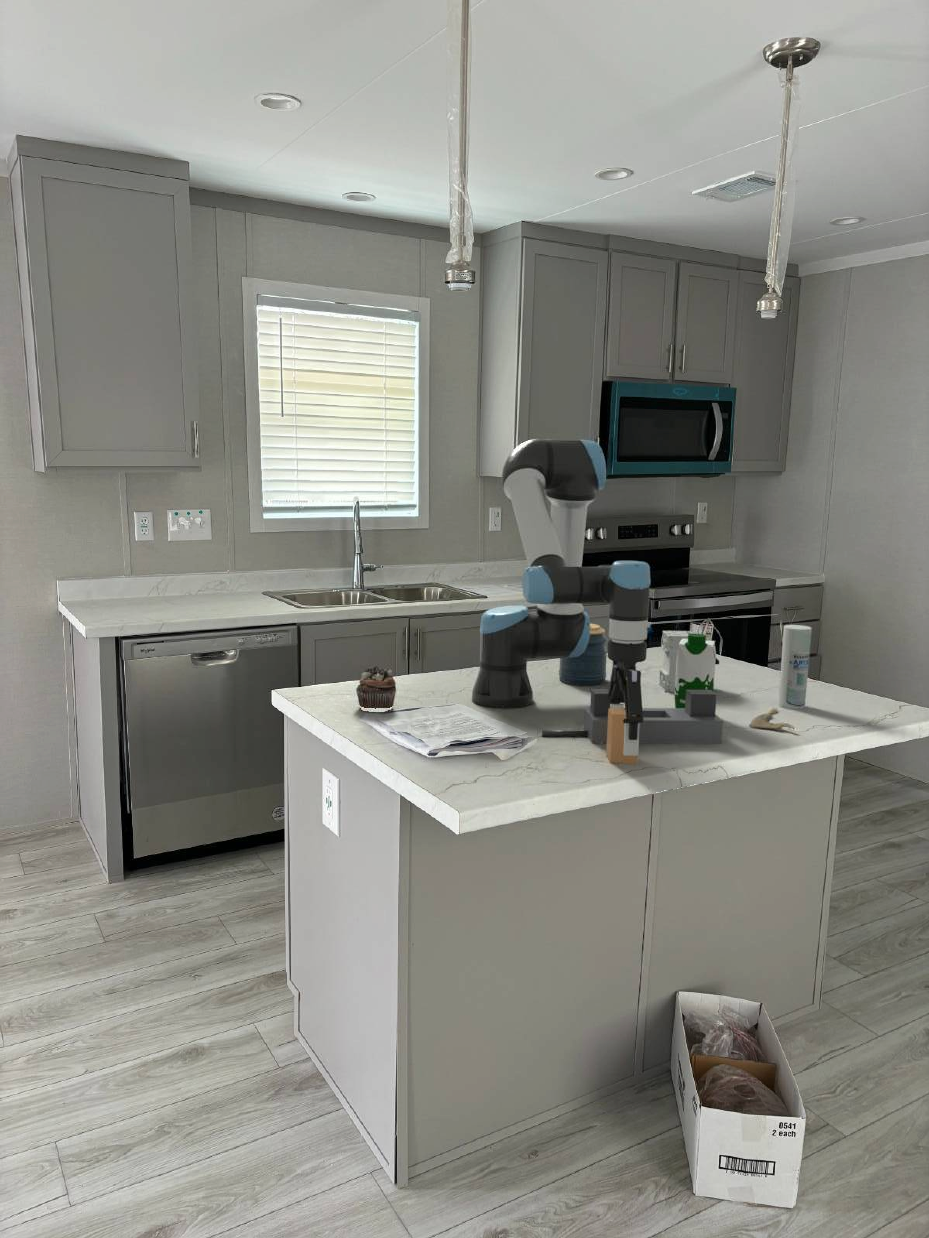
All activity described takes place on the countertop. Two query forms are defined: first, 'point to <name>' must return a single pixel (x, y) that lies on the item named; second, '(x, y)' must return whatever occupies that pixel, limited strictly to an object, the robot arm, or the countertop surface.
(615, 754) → the plug
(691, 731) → the power strip
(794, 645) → the spray can
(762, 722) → the jawbone
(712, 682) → the milk carton
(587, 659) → the canister
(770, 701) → the countertop surface
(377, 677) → the cupcake
